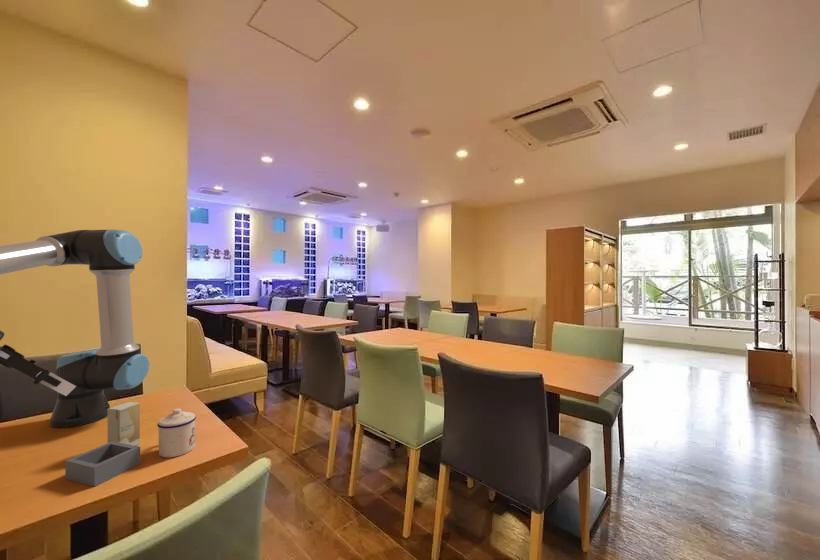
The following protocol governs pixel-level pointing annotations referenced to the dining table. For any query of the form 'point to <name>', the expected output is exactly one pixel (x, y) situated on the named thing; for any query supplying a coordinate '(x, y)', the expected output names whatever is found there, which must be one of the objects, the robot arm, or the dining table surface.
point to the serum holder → (102, 463)
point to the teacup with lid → (176, 433)
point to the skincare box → (124, 423)
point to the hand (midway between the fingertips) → (62, 386)
